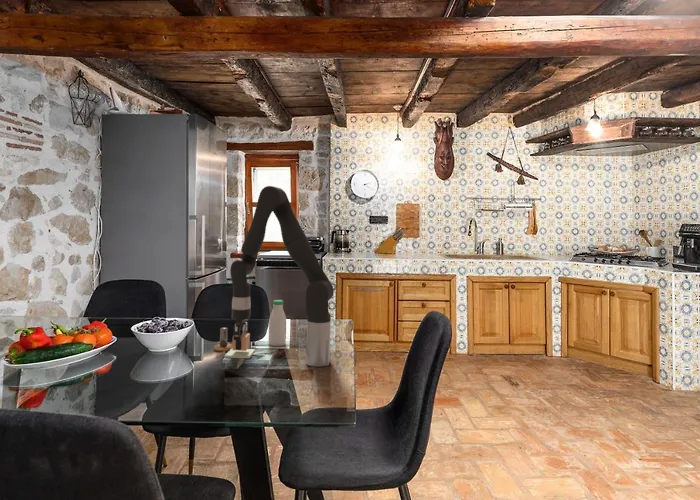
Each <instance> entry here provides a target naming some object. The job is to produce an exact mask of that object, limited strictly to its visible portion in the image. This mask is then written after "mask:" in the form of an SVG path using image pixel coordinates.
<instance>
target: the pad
mask: <svg viewBox="0 0 700 500" xmlns="http://www.w3.org/2000/svg"><path fill="white" fill-rule="evenodd" d="M255 352H256V348H248V349H247V350H246V351H239V350H232V349H231V350H230V351H227V353H225V354H224V358H231V359H232V358H233V359H234V358H235V359H250V358H251V356H252V355H253V354H254V353H255Z"/></svg>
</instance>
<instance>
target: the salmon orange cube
mask: <svg viewBox="0 0 700 500" xmlns="http://www.w3.org/2000/svg"><path fill="white" fill-rule="evenodd" d="M237 337H238V335H237ZM250 338H251V333H249V332H248V333H244V334H243V335H242V340H241V349H240V350H239V351H246V350H247V349H250V344H251V343H250V341H251V339H250ZM232 345H233V346H232V350H236V341H235V340H234V335H233V336H232Z"/></svg>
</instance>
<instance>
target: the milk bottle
mask: <svg viewBox="0 0 700 500" xmlns="http://www.w3.org/2000/svg"><path fill="white" fill-rule="evenodd" d="M272 306H273V308H272V311H271V313H270V315H269V321H268V345H269V346H272V347H280V346H284V345H286V342H287V341H286V340H287V317H286V313H285V311H284V300H283V299H274V300H273V301H272Z"/></svg>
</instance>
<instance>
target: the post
mask: <svg viewBox="0 0 700 500" xmlns="http://www.w3.org/2000/svg"><path fill="white" fill-rule="evenodd" d="M228 329H229V328H228V327H220V329H219V331H220V332H219V333H220V334H219V341H217V342H216V344H215V345H214V346H213V351H215V352H218V353H222V352H223V353H225V352H229V351H230V350H231V349H232V346H233V343H230V342H228Z"/></svg>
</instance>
